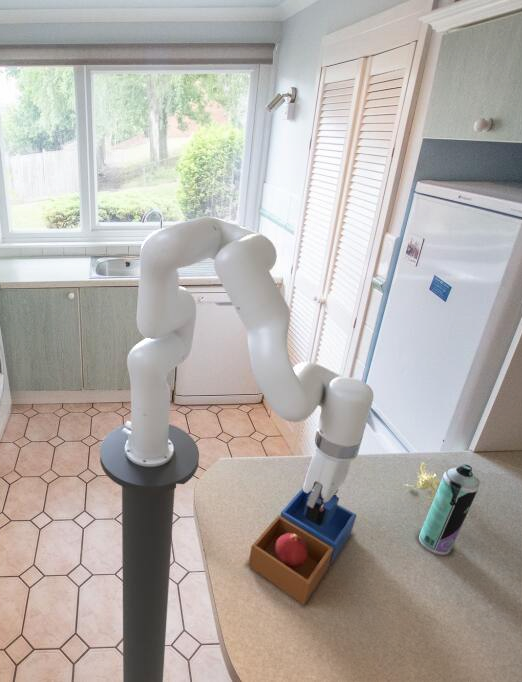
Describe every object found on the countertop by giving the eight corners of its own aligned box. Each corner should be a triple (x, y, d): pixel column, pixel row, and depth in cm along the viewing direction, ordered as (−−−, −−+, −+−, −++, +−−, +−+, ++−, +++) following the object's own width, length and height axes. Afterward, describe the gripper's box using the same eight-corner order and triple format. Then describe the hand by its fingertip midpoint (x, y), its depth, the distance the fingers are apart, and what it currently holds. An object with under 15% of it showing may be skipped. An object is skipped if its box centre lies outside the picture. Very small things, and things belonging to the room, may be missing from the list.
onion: (270, 549, 89) (275, 520, 86) (299, 552, 89) (307, 522, 85) (275, 575, 84) (281, 546, 81) (307, 579, 84) (315, 549, 80)
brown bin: (248, 565, 87) (251, 545, 84) (274, 534, 93) (278, 514, 91) (303, 605, 80) (309, 584, 77) (328, 568, 86) (333, 548, 84)
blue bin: (276, 531, 94) (280, 512, 92) (299, 505, 101) (303, 486, 98) (330, 565, 87) (336, 545, 84) (350, 534, 93) (356, 514, 91)
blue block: (303, 514, 91) (307, 497, 89) (313, 502, 94) (317, 486, 92) (325, 527, 88) (329, 510, 86) (334, 514, 91) (339, 497, 89)
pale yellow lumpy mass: (465, 517, 101) (487, 483, 99) (434, 520, 93) (457, 484, 91) (417, 483, 110) (436, 452, 108) (384, 484, 102) (404, 450, 100)
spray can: (451, 559, 88) (487, 481, 79) (418, 547, 91) (450, 470, 82) (449, 539, 92) (483, 463, 84) (418, 528, 95) (448, 453, 86)
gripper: (335, 414, 91) (319, 482, 99) (296, 453, 80) (281, 527, 88) (374, 430, 86) (354, 501, 94) (339, 474, 75) (319, 550, 83)
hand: (319, 513), depth 91 cm, fingers closed on blue block, 4 cm apart
